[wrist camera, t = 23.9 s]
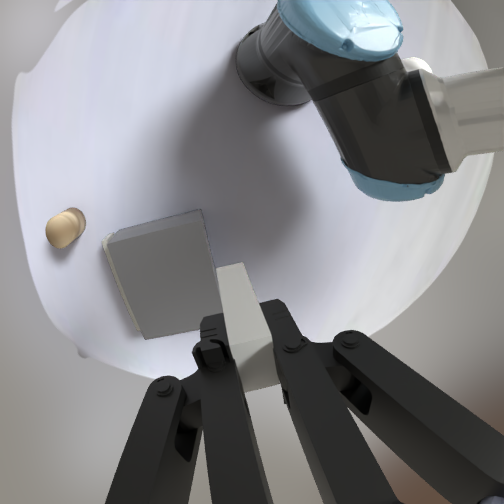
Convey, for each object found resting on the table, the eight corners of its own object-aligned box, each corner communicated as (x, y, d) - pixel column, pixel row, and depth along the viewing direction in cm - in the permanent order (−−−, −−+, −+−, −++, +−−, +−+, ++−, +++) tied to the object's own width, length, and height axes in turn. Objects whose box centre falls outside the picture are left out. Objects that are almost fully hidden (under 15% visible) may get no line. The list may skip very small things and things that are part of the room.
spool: (58, 212, 38) (41, 221, 33) (81, 204, 39) (65, 212, 33) (66, 239, 40) (51, 251, 35) (89, 232, 41) (75, 244, 35)
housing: (201, 209, 43) (201, 220, 37) (223, 301, 50) (227, 323, 43) (117, 230, 42) (105, 244, 35) (149, 316, 48) (143, 340, 42)
